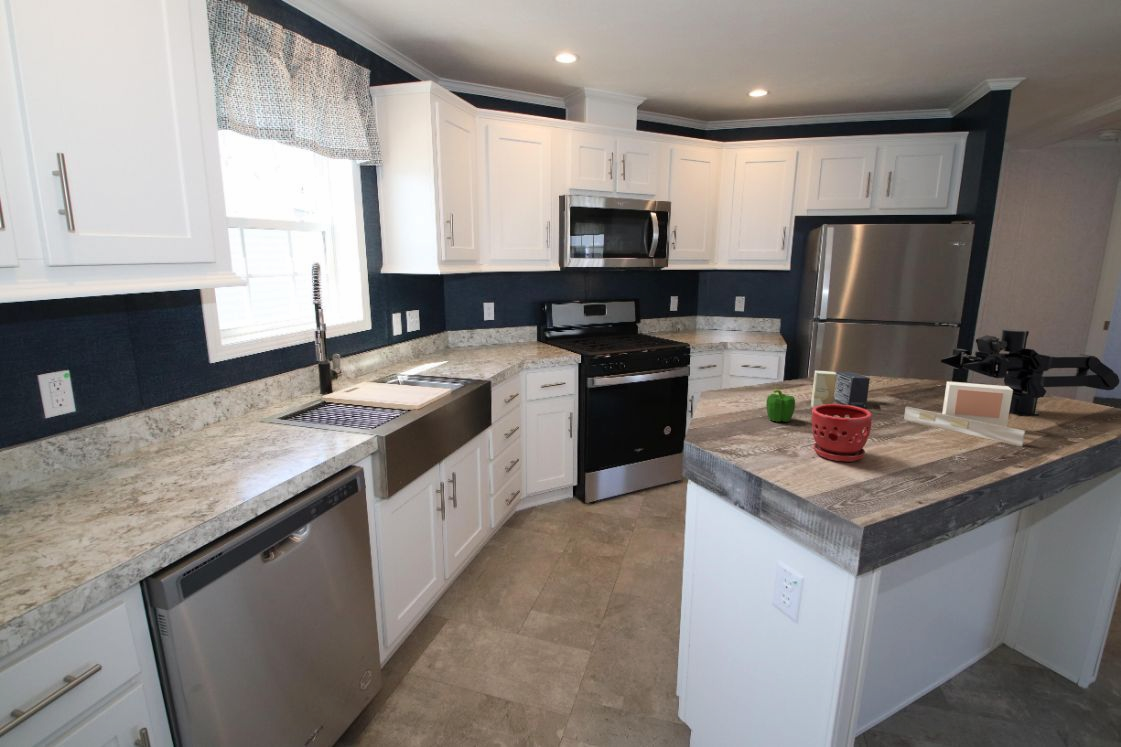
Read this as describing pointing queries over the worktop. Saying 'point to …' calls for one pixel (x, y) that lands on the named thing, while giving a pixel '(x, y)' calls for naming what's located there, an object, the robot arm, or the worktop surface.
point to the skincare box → (823, 388)
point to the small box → (851, 389)
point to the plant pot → (840, 431)
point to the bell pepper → (780, 406)
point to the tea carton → (978, 402)
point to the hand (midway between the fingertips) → (952, 363)
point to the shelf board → (972, 427)
